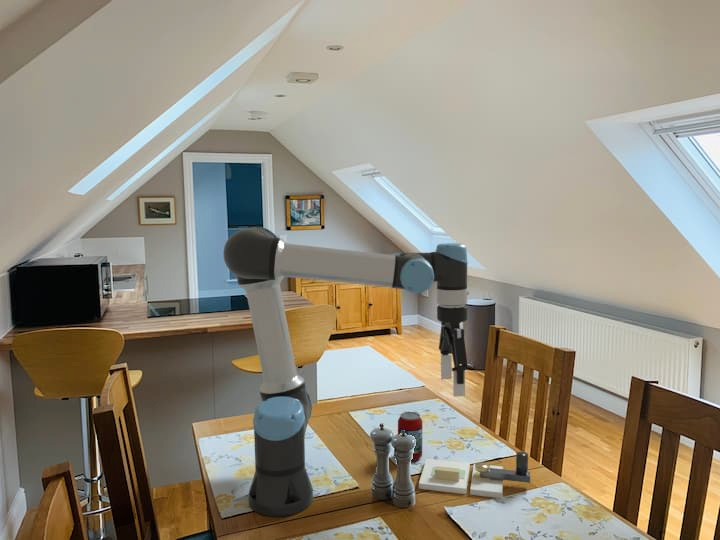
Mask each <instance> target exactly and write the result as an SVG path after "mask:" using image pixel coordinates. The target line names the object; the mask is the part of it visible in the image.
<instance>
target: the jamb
mask: <svg viewBox="0 0 720 540" xmlns="http://www.w3.org/2000/svg"><path fill="white" fill-rule="evenodd" d="M475 464H476V463H473V466H472V474H471V475H472V476H471V483H470V496H477V497H478V496H480V497H488V498H495V499H496V498H497V499H503V489H504V488H503V487H504V486H503V481H504V480H500V479H491V478H481V477H480V472H478V471H476V470H475ZM489 465H490V468H495V469H504V466H503V465H502V466H500V465H491V464H489Z"/></svg>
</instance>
